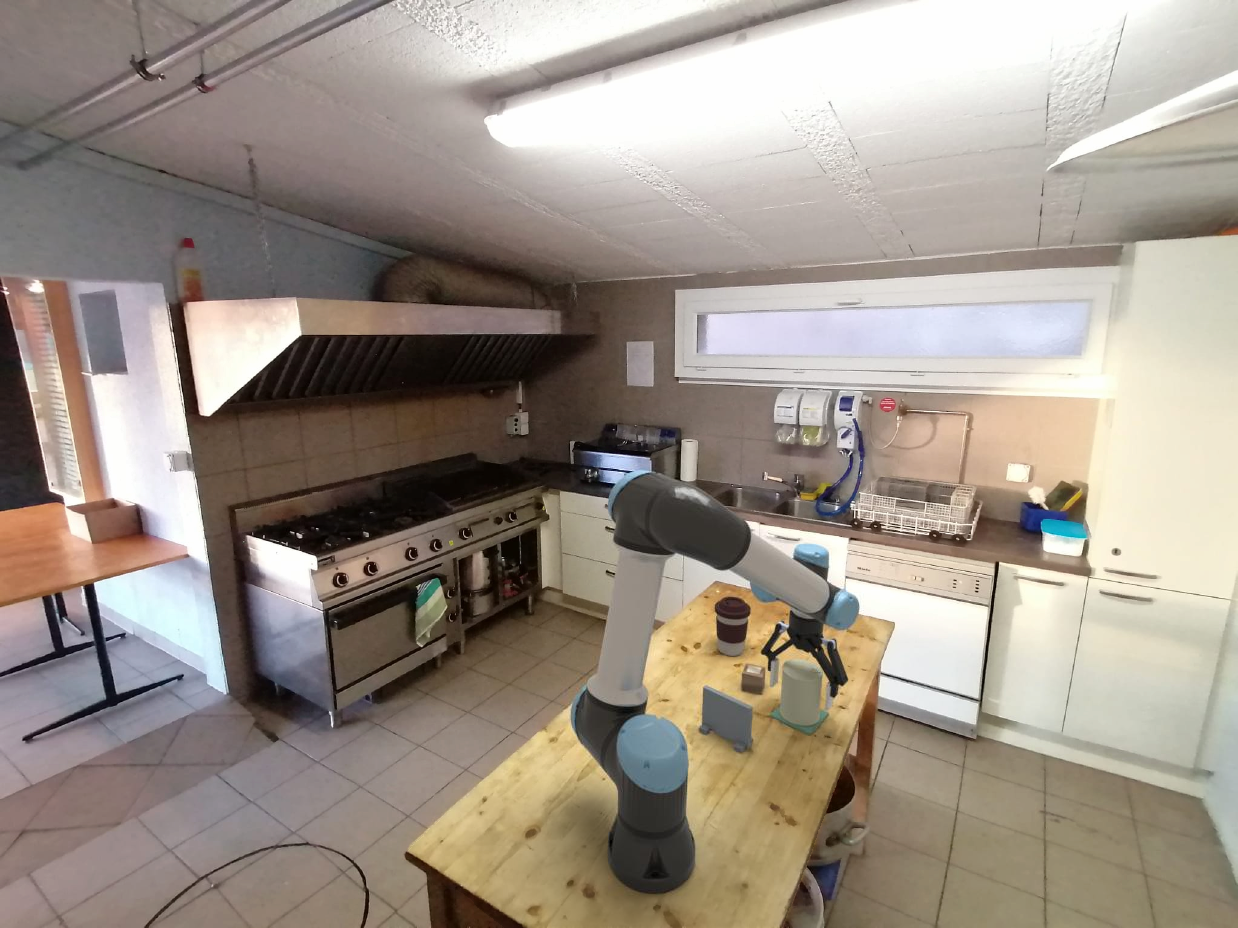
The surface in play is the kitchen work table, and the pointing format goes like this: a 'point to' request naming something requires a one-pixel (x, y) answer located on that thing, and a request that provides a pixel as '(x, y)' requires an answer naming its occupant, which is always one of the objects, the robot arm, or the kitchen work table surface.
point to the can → (801, 692)
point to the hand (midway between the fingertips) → (800, 695)
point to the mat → (804, 729)
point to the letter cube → (753, 678)
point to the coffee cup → (731, 625)
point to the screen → (727, 718)
